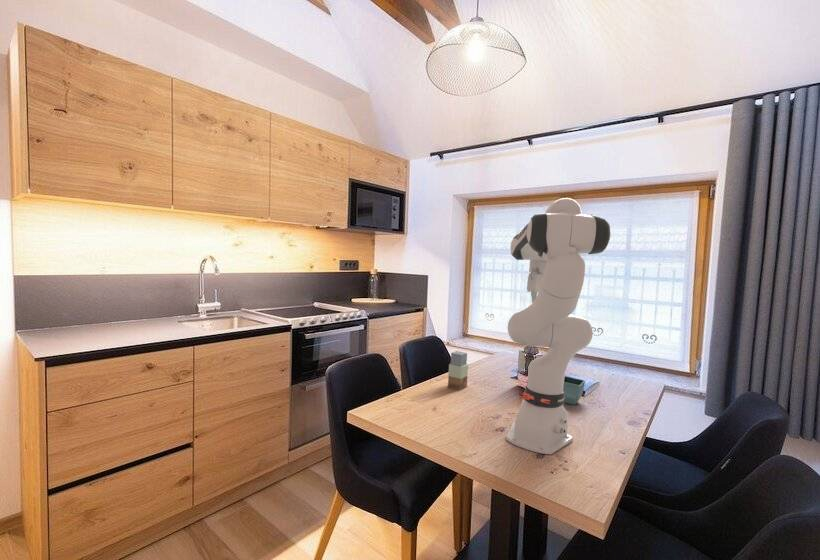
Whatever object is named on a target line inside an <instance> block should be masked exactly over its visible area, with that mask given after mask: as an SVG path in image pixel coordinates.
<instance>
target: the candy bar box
mask: <svg viewBox="0 0 820 560" xmlns="http://www.w3.org/2000/svg"><path fill="white" fill-rule="evenodd" d="M537 353H538V352H537ZM543 355H544V354H541V353H540V352H539V353H538V354H536V355H535V357H534V359H535V358H538V357H540V356H543ZM517 362H518V363H517V373H516V374H517V375H516V377H517V376H518V373H519V372H521V371H523V370H524V367H525V353H524V349H519V350H518V361H517Z"/></svg>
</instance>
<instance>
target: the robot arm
mask: <svg viewBox="0 0 820 560" xmlns="http://www.w3.org/2000/svg"><path fill="white" fill-rule="evenodd" d="M610 239H611V226H610V223H609V222H608V221H607V219H605V218H602V217H600V216H597V215H594V214H590V215H587V214H582V208H581V206H580V204H579V203H578V202H577V201H576V200H574V199H573V198H569V197H563V198H559V199H556V200H554V202H552V203H551V204H550V205H549V206H548V208H546V210H545V212H542V213H536V214H534V215H533V216H532V217H531V218H530V220H529V222H528V223H527V224H526V225H525V226H524V227H523V228H522V229H521V231H519V233H518V234H516V235H515V236H513V238H512V240H511V242H510V247H509V248H510V254H511V256H512V257H513V258H514V259H515V260H517V261H524V260H525V261H526V260H527V261H528V260H529V268H528V272H529V273H528V277H527V283H526V284H527V285H526V291H527V292H530V297H531V304H530V305H529V306H528V307H526V308H525V309H522V310H521V311H518V312H515V313H514V314H512V316H510V318H509V319H508V323H507V332H508V336H509V337H510V339H511V341H513V342H514V343H517V344H521V345H525V346H529V347H538V348H539V347H541V348H542V347H543V348H548V350H547V352H546V353H544V354H542V355H543V356H540V357H538V358H535V359H534V360H532V361H531V362H530V364H529V366H528V380H527V386H526V389H524V392H523V393H522V400H521V404H520V406H519V409H518V411H517V414H516V418H515V419H514V420H513V422H512V424H511V426H510V427H509V430H508V432H507V433H506V438H505V440H506V442H507V441H508V442H509V443H510V444H512V445H515V446H517V447H519V448H522V449H524V450H528V451H531V452H534V453H537V454H542V455H543V454H545V455H552V454H554V453H556V452H557V451H559V450H561V449H562V448H563V447H565V446H566V445H568V444H570V443H572V442H573V436H572V435H571V434H569V433H568V431H569V430H568V428H569V413H568V411H567V410H566V408H565V407H564V404H565V402H564V398H565V396H564V391H563V386H564V378H565V376H566V371H567V367H568V366H569V363H570V361H571V360H572V358H574V356H575V355H577V353H578V352H580V351H581V350H584V349H585V348H586V347H588V346H589V344H590V343H591V341H592V339H593V334H594V333H593V332H594V331H593V327H592V325H591V323H590V321H589V320H588V319H587V318H585V317H582V316H578V315H573V313H574V311H575V310H576V308H577V305H578V301H579V298H580V295H581V293H582V289H583V285H584V280H585V272H586V262H585V259H584V258H583V257H582V255H581V254H588V255H596V254H601V253H603V252H604V251H605V250H606V249H607V247H608V245H609V243H610Z"/></svg>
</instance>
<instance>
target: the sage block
mask: <svg viewBox="0 0 820 560" xmlns="http://www.w3.org/2000/svg"><path fill="white" fill-rule="evenodd" d="M468 370H469V364H466V365H464V366H462V367H460V366H455V365H451V363H449V364H448V376H451V377H455V378H459V379H462V378H464V377H466V376H467V377H468V373H469V371H468Z"/></svg>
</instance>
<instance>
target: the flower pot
mask: <svg viewBox="0 0 820 560" xmlns="http://www.w3.org/2000/svg"><path fill="white" fill-rule="evenodd" d="M585 384H586V380H584V379H580V378H576V377H571V376H566V375H565V378H564V386H563V391H564V396H565V398H564V404H565V403H566V404H568V405H572V404H573V405H574V406H575V405H576V404H577V403H578V402H579V400H580V399H581V398H582V395H583V393H584V390H585V389H584V388H585Z"/></svg>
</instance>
